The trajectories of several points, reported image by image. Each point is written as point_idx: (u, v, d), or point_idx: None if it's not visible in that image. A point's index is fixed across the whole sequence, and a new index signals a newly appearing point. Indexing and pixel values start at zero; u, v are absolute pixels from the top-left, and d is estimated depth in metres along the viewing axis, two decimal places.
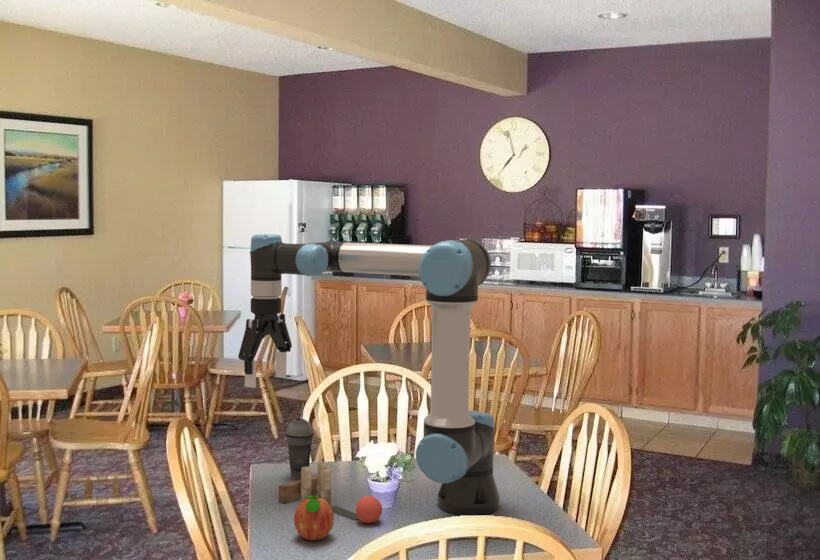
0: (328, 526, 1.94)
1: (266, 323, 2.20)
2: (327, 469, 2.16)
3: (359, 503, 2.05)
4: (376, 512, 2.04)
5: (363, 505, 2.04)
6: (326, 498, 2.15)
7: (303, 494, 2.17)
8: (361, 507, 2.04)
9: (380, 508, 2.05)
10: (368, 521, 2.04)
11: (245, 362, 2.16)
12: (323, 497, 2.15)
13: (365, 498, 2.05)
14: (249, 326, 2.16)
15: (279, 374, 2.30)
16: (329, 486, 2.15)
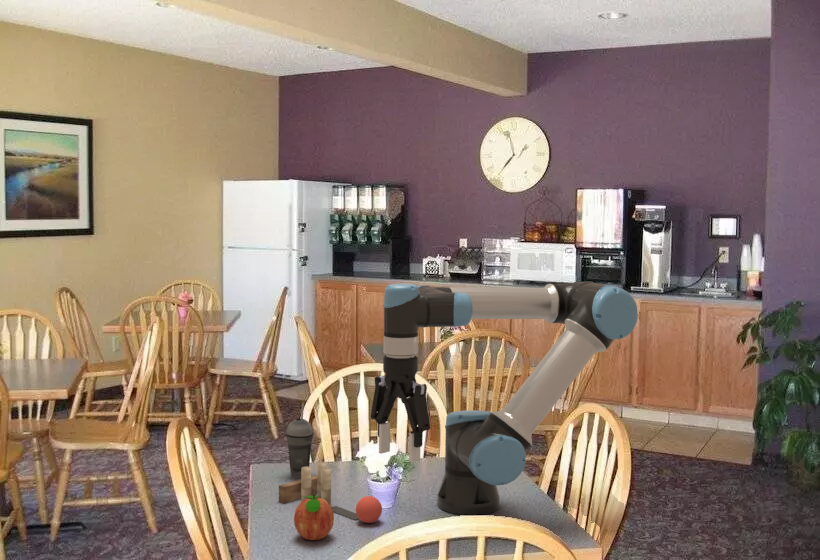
0: (328, 526, 1.94)
1: None
2: (327, 469, 2.16)
3: (359, 503, 2.05)
4: (376, 512, 2.04)
5: (363, 505, 2.04)
6: (326, 498, 2.15)
7: (303, 494, 2.17)
8: (361, 507, 2.04)
9: (380, 508, 2.05)
10: (368, 521, 2.04)
11: None
12: (323, 497, 2.15)
13: (365, 498, 2.05)
14: None
15: None
16: (329, 486, 2.15)
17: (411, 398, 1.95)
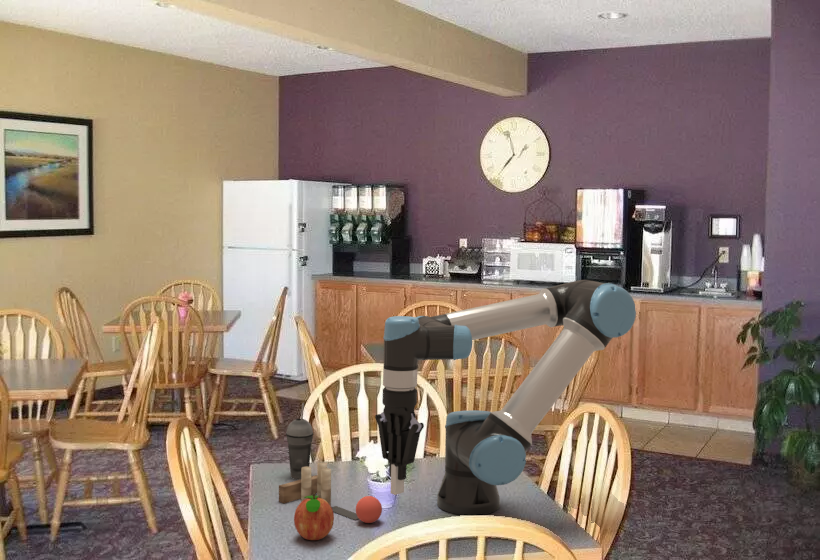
0: (328, 526, 1.94)
1: None
2: (327, 469, 2.16)
3: (359, 503, 2.05)
4: (376, 512, 2.04)
5: (363, 505, 2.04)
6: (326, 498, 2.15)
7: (303, 494, 2.17)
8: (361, 507, 2.04)
9: (380, 508, 2.05)
10: (368, 521, 2.04)
11: None
12: (323, 497, 2.15)
13: (365, 498, 2.05)
14: None
15: None
16: (329, 486, 2.15)
17: (405, 432, 1.97)
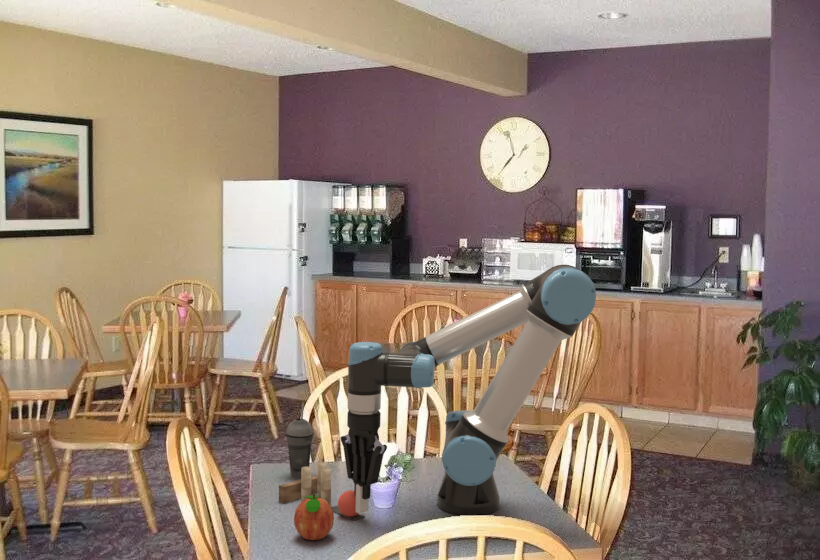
0: (328, 526, 1.94)
1: None
2: (327, 469, 2.16)
3: None
4: (348, 491, 2.10)
5: (338, 502, 2.09)
6: (326, 498, 2.15)
7: (303, 494, 2.17)
8: (338, 503, 2.09)
9: (351, 490, 2.11)
10: (352, 500, 2.07)
11: None
12: (323, 497, 2.15)
13: None
14: None
15: None
16: (329, 486, 2.15)
17: (369, 453, 2.05)
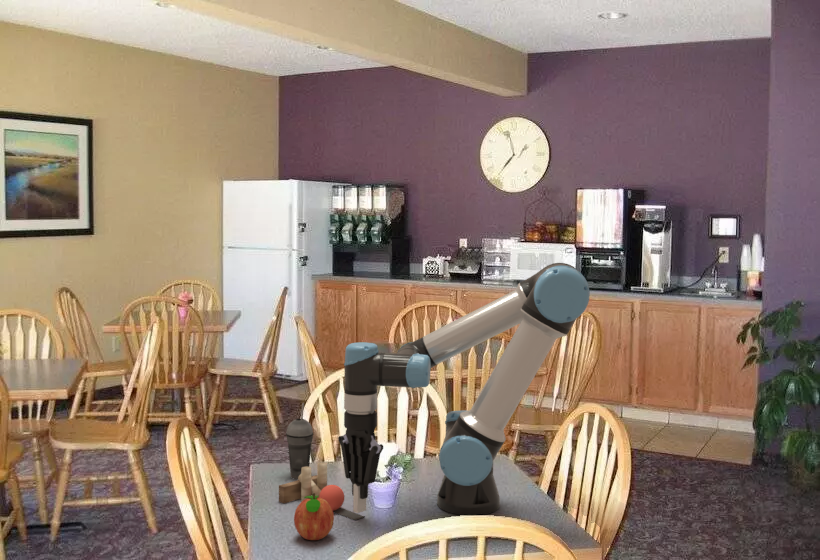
0: (328, 526, 1.94)
1: None
2: None
3: None
4: None
5: None
6: (317, 492, 2.18)
7: (303, 494, 2.17)
8: None
9: None
10: (320, 493, 2.14)
11: None
12: None
13: (333, 510, 2.13)
14: None
15: None
16: (312, 483, 2.19)
17: (366, 453, 2.06)
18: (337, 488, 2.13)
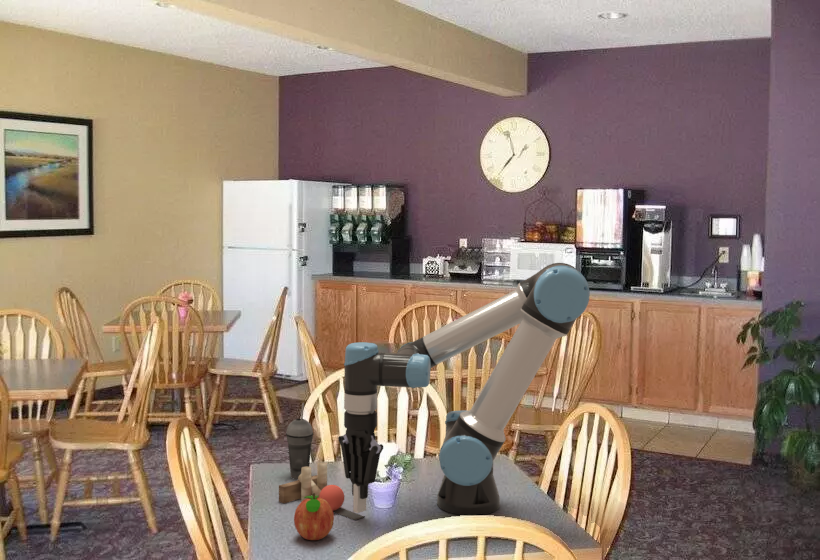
0: (328, 526, 1.94)
1: None
2: None
3: None
4: None
5: None
6: (317, 492, 2.18)
7: (303, 494, 2.17)
8: None
9: None
10: (320, 493, 2.14)
11: None
12: None
13: (333, 510, 2.13)
14: None
15: None
16: (312, 483, 2.19)
17: (366, 453, 2.06)
18: (337, 488, 2.13)
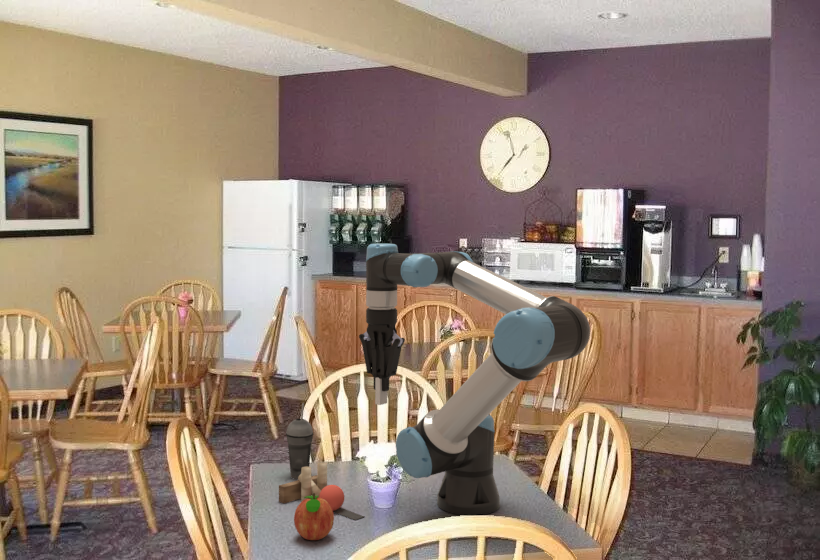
0: (328, 526, 1.94)
1: None
2: None
3: None
4: None
5: None
6: (317, 492, 2.18)
7: (303, 494, 2.17)
8: None
9: None
10: (320, 493, 2.14)
11: None
12: None
13: (333, 510, 2.13)
14: None
15: None
16: (312, 483, 2.19)
17: (388, 347, 2.18)
18: (337, 488, 2.13)
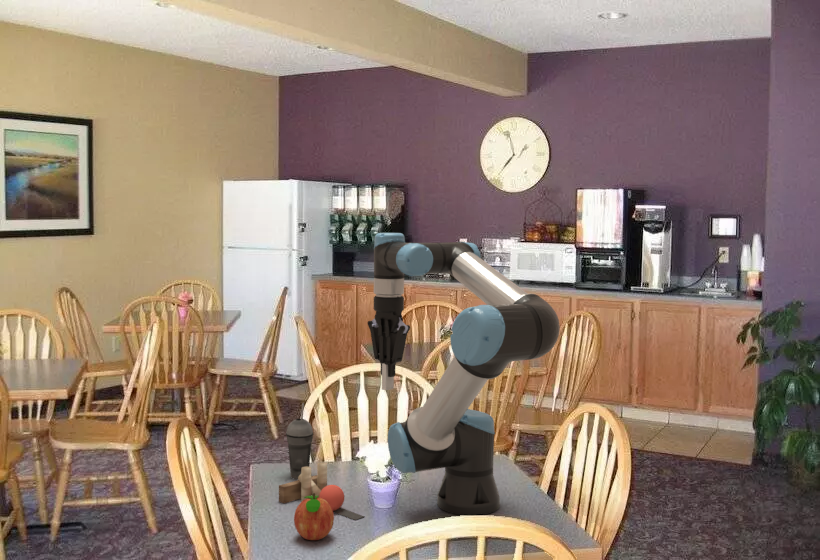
0: (328, 526, 1.94)
1: None
2: None
3: None
4: None
5: None
6: (317, 492, 2.18)
7: (303, 494, 2.17)
8: None
9: None
10: (320, 493, 2.14)
11: None
12: None
13: (333, 510, 2.13)
14: None
15: None
16: (312, 483, 2.19)
17: (394, 334, 2.23)
18: (337, 488, 2.13)
